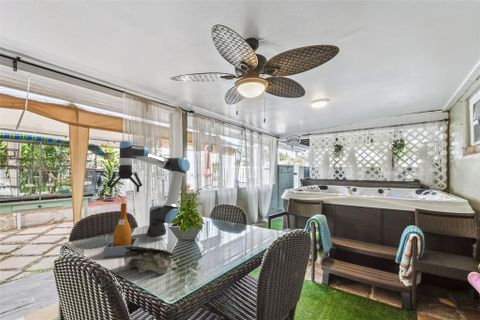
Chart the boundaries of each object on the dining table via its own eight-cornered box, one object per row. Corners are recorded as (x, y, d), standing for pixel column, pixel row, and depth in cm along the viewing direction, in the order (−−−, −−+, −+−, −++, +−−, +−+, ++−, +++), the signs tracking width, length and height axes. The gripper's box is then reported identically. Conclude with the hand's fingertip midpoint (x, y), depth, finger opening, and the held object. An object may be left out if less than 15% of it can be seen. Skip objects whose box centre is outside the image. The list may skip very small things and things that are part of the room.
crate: (138, 246, 146) (138, 237, 146) (133, 255, 131) (133, 245, 131) (112, 248, 142) (112, 239, 142) (103, 258, 126) (104, 247, 127)
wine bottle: (109, 251, 134) (111, 203, 136) (124, 246, 143) (126, 201, 144) (119, 254, 130) (121, 204, 131) (134, 249, 138) (135, 202, 140)
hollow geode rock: (123, 275, 116) (107, 262, 107) (136, 252, 125) (122, 239, 116) (168, 281, 108) (155, 268, 99) (178, 256, 118) (167, 242, 108)
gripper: (147, 165, 146) (146, 196, 145) (106, 164, 139) (104, 197, 139) (145, 164, 139) (144, 197, 138) (101, 164, 132) (100, 198, 131)
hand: (124, 197), depth 138 cm, fingers open, 13 cm apart
